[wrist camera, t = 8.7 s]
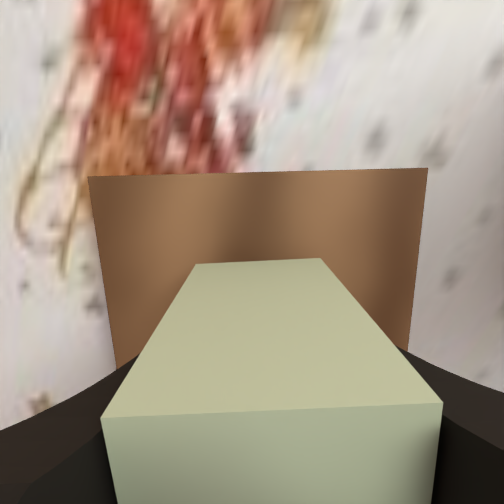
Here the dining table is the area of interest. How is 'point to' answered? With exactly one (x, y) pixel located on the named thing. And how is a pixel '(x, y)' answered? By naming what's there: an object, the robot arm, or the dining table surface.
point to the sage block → (271, 398)
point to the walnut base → (256, 237)
